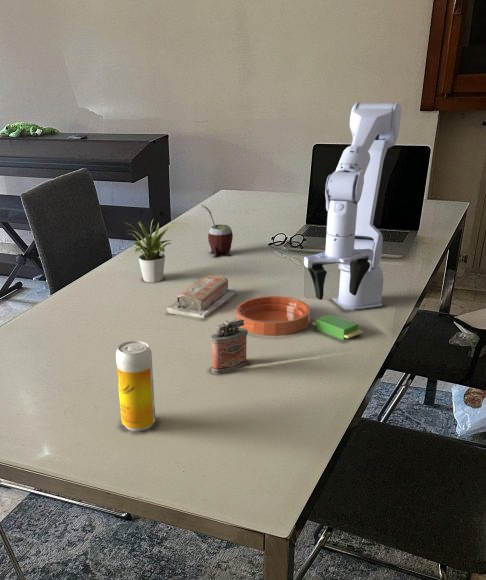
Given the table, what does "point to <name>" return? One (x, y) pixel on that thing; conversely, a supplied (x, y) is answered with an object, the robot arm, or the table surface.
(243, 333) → the lighter
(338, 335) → the eraser with green sleeve
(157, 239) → the house plant
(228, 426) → the table surface
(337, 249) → the robot arm
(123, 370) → the beer can
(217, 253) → the mate gourd
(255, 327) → the bowl
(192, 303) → the packaged product
